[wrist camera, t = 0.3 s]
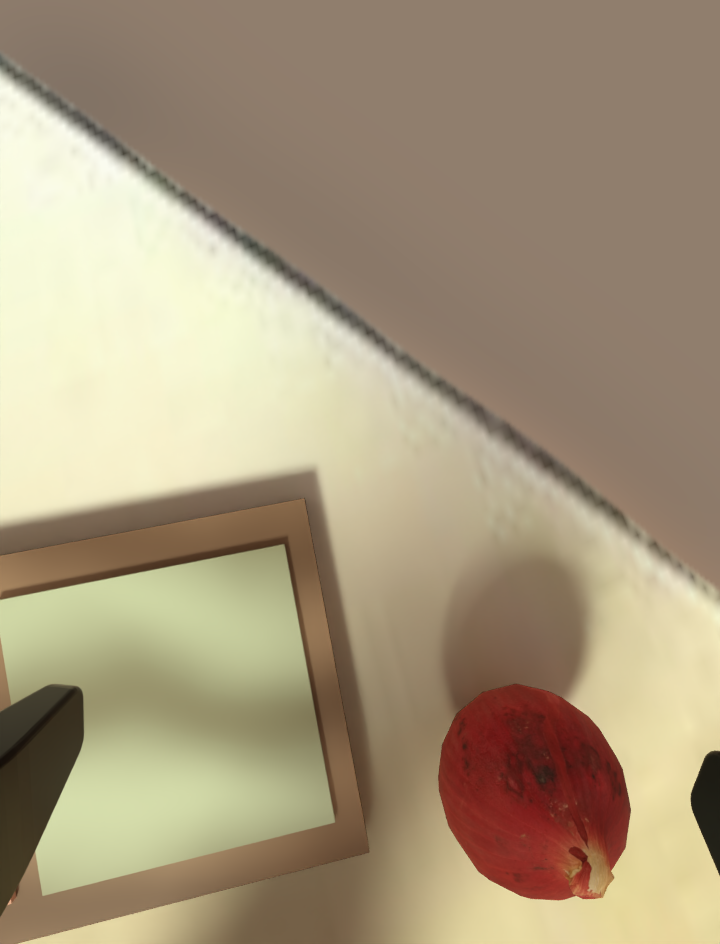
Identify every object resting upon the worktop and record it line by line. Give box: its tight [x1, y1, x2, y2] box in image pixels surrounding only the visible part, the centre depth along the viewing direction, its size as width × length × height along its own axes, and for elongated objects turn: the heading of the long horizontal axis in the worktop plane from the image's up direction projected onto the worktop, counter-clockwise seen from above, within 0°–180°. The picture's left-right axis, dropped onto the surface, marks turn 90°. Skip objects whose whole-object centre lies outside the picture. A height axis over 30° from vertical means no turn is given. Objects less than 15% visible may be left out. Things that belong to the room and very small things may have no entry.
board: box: [0, 498, 369, 944], centre depth 19 cm, size 13×23×2 cm, turn 101°
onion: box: [438, 684, 631, 900], centre depth 17 cm, size 6×6×8 cm
